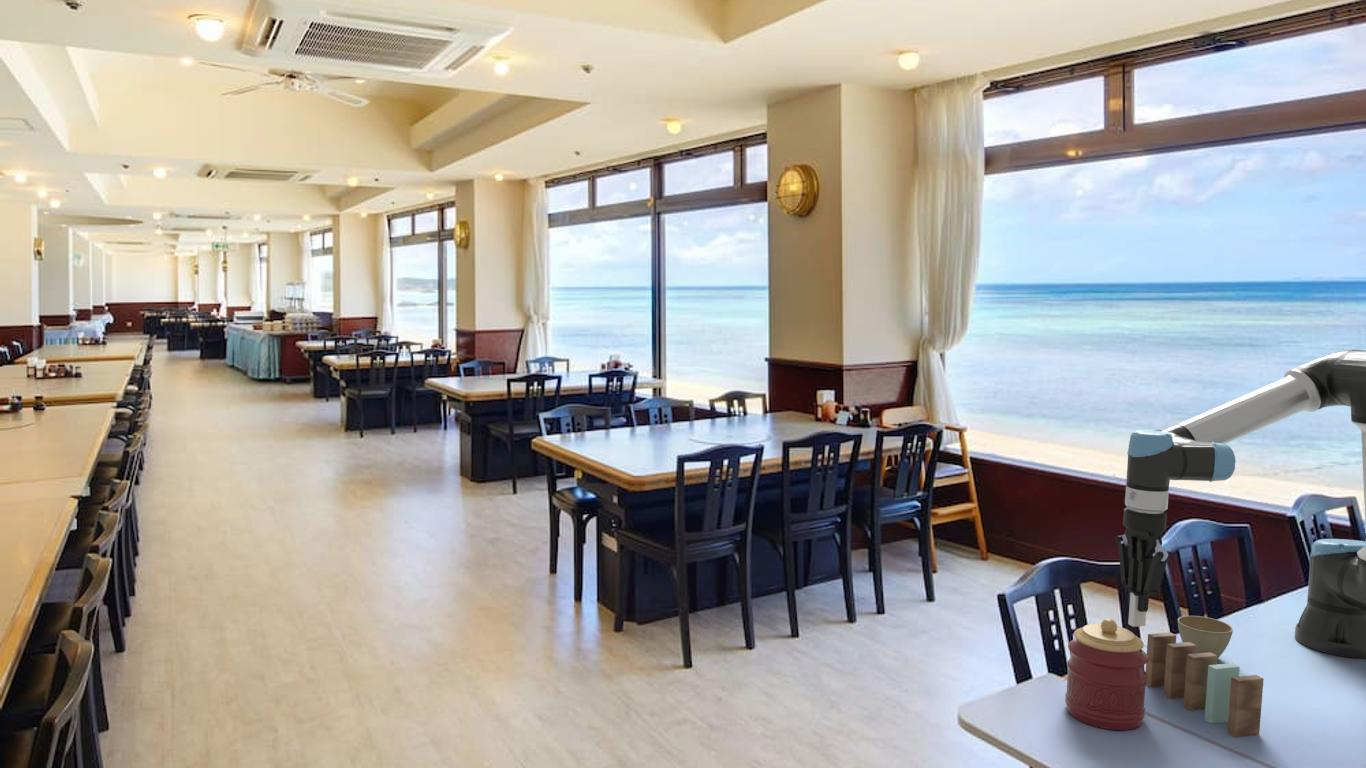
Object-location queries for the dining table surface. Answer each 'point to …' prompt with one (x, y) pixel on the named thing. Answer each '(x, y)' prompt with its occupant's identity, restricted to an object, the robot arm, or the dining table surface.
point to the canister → (1106, 677)
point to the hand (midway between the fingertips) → (1136, 625)
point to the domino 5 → (1245, 705)
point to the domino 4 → (1219, 691)
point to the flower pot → (1205, 633)
